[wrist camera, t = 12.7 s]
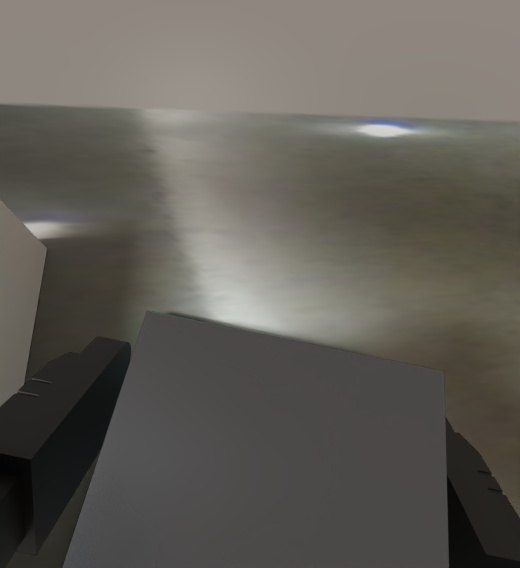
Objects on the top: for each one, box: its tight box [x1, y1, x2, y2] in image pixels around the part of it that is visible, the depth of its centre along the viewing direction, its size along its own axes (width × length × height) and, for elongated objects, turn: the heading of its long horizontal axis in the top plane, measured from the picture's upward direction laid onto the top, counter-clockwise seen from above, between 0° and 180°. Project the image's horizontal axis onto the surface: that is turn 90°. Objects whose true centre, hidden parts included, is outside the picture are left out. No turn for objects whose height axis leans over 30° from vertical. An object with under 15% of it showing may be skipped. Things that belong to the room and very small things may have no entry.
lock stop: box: [63, 311, 449, 568], centre depth 9 cm, size 4×4×11 cm
